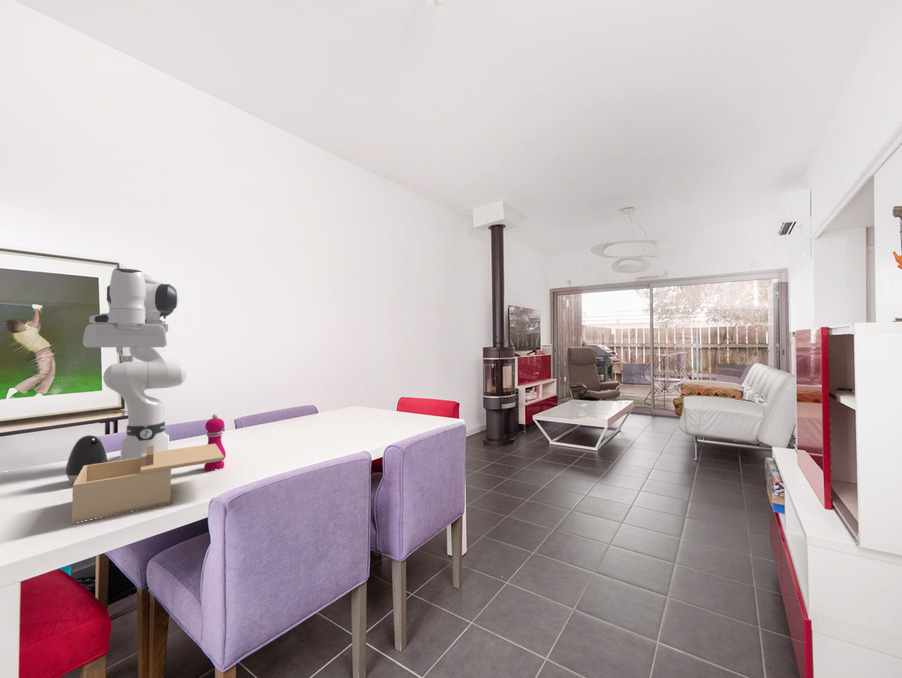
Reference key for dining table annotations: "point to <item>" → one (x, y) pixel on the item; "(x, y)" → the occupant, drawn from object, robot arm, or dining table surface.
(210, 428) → the pepper mill
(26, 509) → the dining table surface
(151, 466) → the lid
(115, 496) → the box
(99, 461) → the black egg shape
